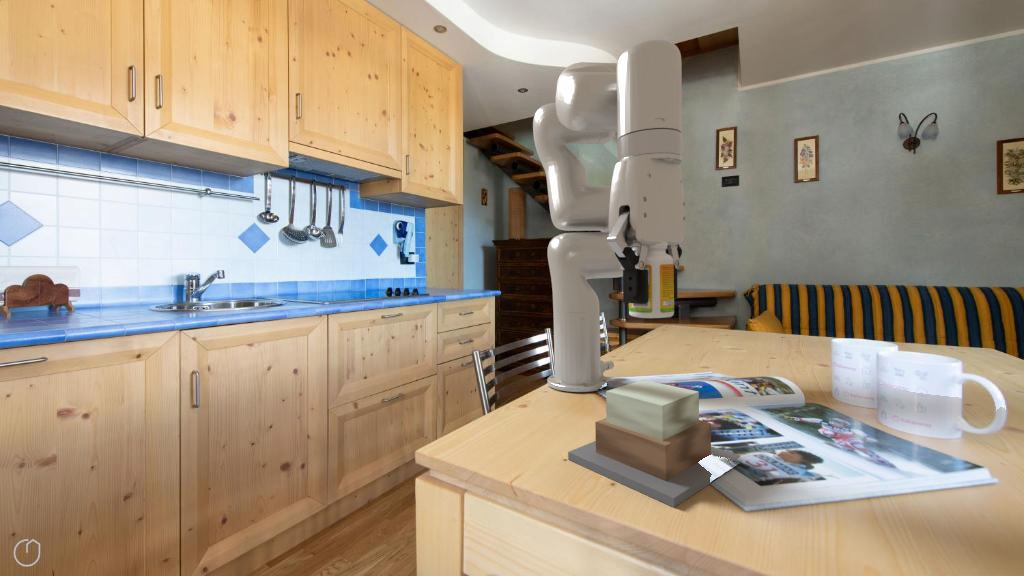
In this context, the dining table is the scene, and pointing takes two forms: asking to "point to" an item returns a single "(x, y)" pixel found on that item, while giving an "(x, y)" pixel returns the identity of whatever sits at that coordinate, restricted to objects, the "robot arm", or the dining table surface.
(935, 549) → the dining table surface
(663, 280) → the supplement bottle
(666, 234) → the robot arm
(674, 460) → the two-tone block stack
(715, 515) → the dining table surface
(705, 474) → the baseplate
